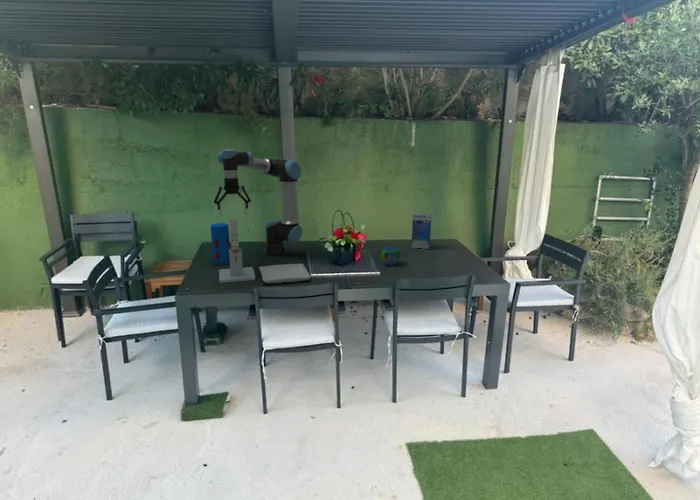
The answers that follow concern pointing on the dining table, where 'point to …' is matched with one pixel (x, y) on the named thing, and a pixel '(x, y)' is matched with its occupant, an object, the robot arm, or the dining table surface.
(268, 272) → the square plate
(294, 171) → the robot arm
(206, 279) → the dining table surface
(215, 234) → the thermos
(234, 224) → the column
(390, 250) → the snack cup
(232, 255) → the stand
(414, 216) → the string lights box
